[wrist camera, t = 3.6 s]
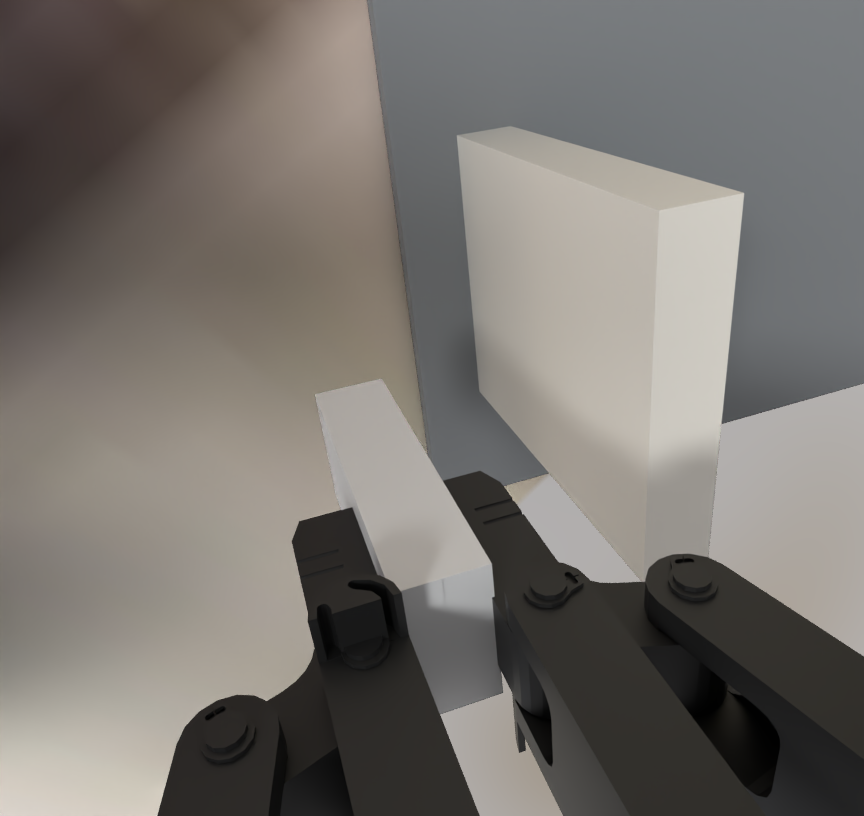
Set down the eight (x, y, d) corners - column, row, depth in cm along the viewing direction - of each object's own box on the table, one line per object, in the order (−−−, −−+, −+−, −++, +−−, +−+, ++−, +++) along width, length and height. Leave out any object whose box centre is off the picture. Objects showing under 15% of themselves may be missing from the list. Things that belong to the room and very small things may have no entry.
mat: (433, 496, 29) (438, 504, 29) (363, -25, 20) (368, -27, 20) (882, 370, 34) (893, 374, 33) (983, -98, 25) (1000, -101, 25)
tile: (479, 391, 27) (642, 583, 18) (456, 135, 22) (658, 210, 13) (527, 379, 27) (713, 560, 18) (514, 125, 23) (751, 191, 14)
